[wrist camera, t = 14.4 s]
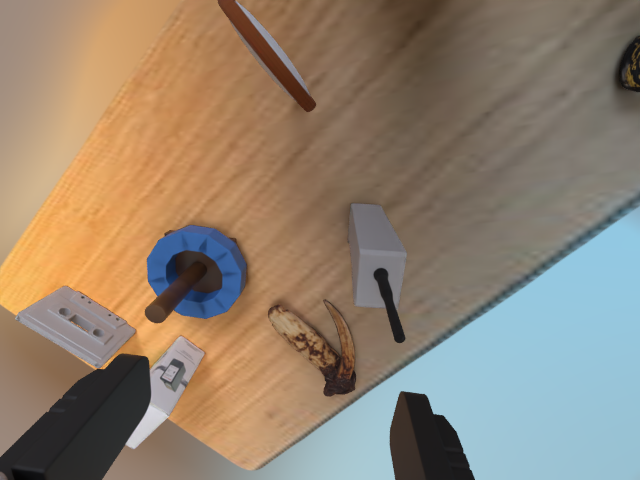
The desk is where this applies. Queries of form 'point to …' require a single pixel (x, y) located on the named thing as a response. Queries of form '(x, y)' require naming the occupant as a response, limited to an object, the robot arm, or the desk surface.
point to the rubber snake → (631, 67)
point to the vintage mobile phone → (376, 262)
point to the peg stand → (186, 282)
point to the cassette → (68, 306)
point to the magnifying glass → (268, 53)
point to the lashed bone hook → (319, 347)
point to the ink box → (167, 385)
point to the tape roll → (214, 247)
